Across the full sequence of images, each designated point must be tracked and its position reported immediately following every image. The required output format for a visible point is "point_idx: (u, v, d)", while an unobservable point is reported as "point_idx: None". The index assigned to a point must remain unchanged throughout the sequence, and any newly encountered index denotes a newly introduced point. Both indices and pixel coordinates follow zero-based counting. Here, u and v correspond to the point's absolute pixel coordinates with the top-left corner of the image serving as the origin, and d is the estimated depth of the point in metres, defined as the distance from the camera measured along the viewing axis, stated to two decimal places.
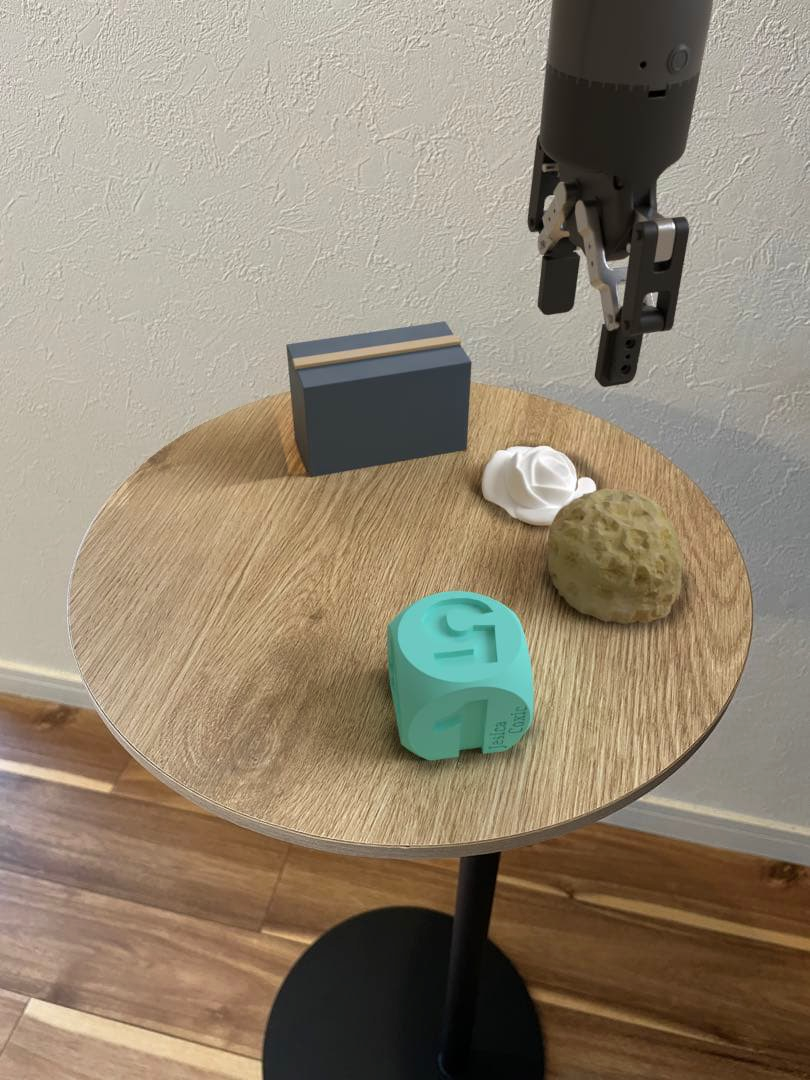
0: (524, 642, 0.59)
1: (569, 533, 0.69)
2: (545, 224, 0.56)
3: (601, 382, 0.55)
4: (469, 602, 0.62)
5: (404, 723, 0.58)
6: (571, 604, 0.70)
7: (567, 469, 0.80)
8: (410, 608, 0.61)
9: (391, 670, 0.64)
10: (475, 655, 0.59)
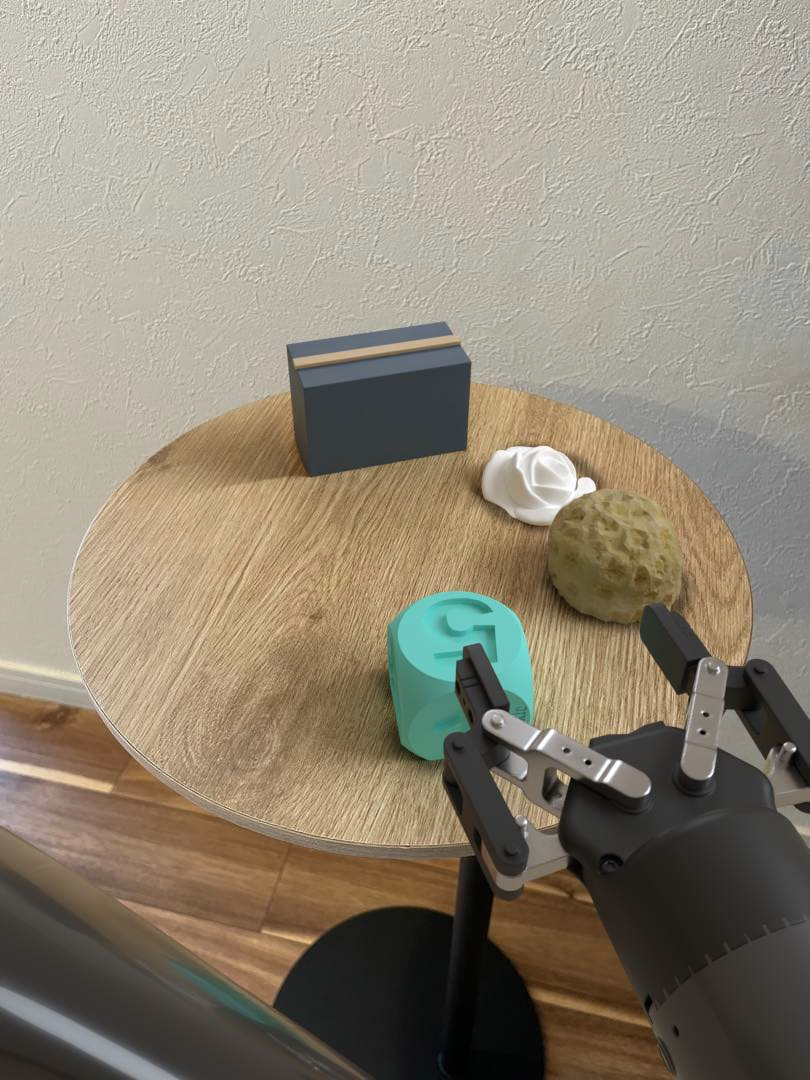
0: (524, 642, 0.59)
1: (569, 533, 0.69)
2: (710, 702, 0.38)
3: (466, 649, 0.41)
4: (469, 602, 0.62)
5: (404, 723, 0.58)
6: (571, 604, 0.70)
7: (567, 469, 0.80)
8: (410, 608, 0.61)
9: (391, 670, 0.64)
10: None
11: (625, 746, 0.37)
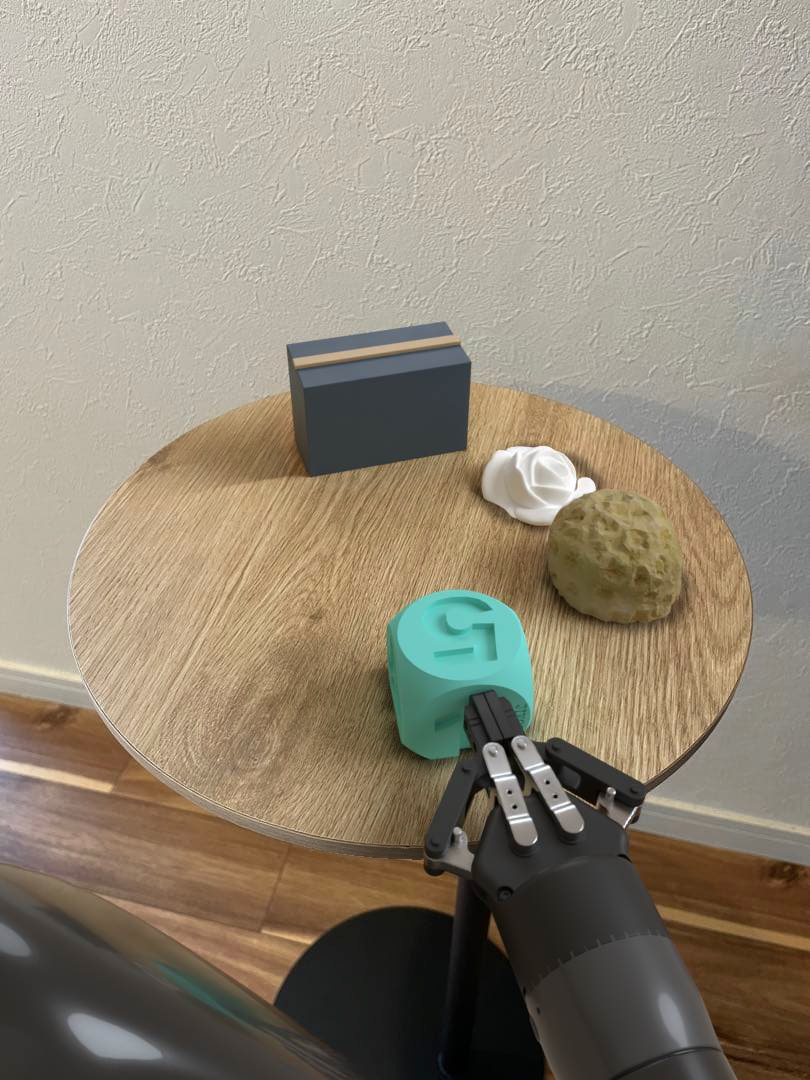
0: (524, 640, 0.59)
1: (569, 533, 0.69)
2: (543, 772, 0.52)
3: (471, 697, 0.56)
4: (469, 601, 0.62)
5: (404, 722, 0.58)
6: (571, 604, 0.70)
7: (567, 469, 0.80)
8: (409, 607, 0.61)
9: (391, 669, 0.64)
10: (474, 653, 0.59)
11: None
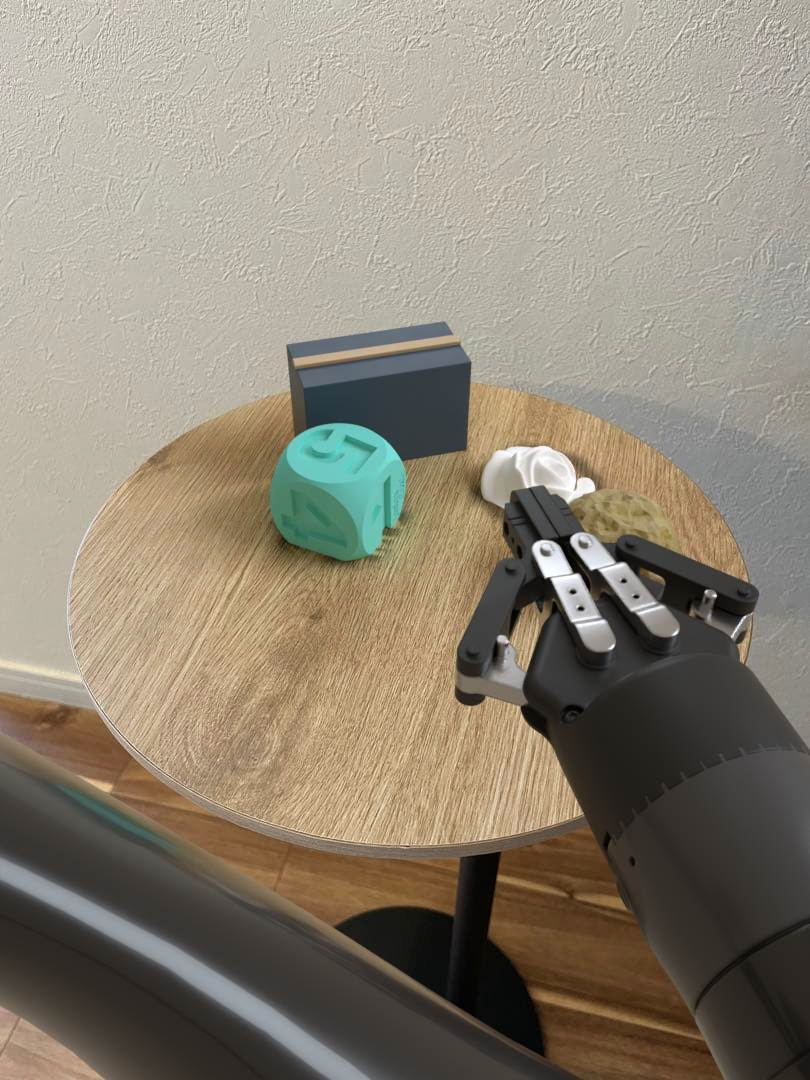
0: (372, 431, 0.75)
1: None
2: (616, 569, 0.38)
3: (514, 493, 0.42)
4: (311, 437, 0.75)
5: (357, 529, 0.71)
6: None
7: (566, 469, 0.80)
8: (288, 462, 0.72)
9: (288, 528, 0.75)
10: (357, 457, 0.73)
11: None
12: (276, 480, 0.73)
